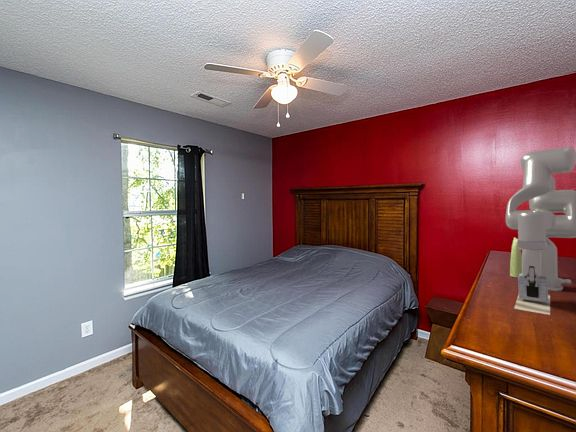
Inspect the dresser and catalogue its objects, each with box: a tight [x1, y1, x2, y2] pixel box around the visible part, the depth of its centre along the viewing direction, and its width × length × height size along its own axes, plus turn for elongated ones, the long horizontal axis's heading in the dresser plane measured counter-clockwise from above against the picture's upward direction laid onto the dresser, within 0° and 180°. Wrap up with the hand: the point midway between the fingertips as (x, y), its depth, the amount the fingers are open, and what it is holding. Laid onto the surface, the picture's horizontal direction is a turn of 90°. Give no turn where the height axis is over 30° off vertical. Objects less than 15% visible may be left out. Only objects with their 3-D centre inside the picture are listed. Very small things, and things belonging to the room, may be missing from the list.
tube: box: [509, 237, 522, 279], centre depth 137 cm, size 6×5×20 cm
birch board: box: [513, 293, 551, 316], centre depth 100 cm, size 24×9×2 cm, turn 136°
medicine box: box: [517, 274, 549, 302], centre depth 100 cm, size 8×4×9 cm, turn 47°
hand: (532, 294), depth 100 cm, fingers open, 4 cm apart
